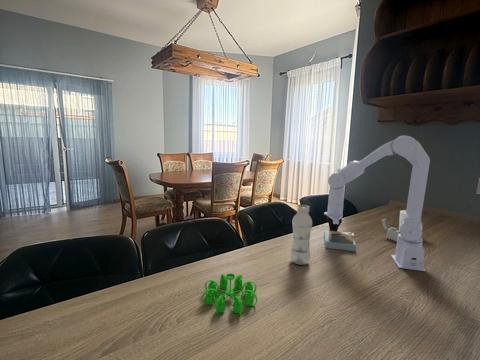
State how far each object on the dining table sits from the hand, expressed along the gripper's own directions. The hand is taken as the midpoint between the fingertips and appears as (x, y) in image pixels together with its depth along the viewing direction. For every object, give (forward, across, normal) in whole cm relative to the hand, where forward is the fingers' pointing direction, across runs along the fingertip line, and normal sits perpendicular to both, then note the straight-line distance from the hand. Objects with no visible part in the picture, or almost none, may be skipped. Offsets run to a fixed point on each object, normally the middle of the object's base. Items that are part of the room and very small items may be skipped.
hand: (332, 235), depth 106 cm
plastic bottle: (+4, +21, -12) cm, 24 cm away
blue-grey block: (+3, -2, +3) cm, 5 cm away
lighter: (+4, -14, +24) cm, 28 cm away
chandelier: (+4, +47, -28) cm, 55 cm away
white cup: (+4, -23, +34) cm, 41 cm away
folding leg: (+1, +2, +3) cm, 4 cm away
